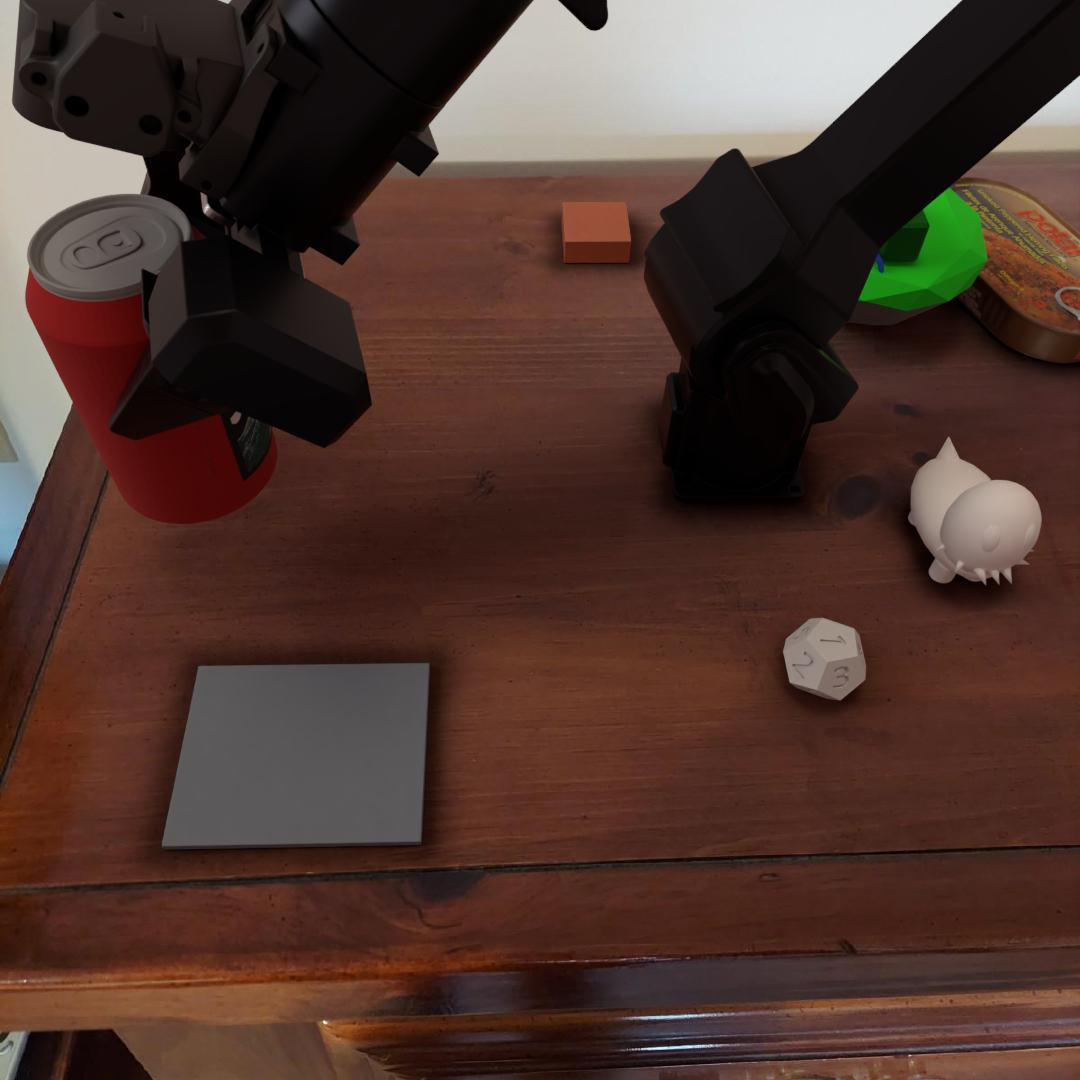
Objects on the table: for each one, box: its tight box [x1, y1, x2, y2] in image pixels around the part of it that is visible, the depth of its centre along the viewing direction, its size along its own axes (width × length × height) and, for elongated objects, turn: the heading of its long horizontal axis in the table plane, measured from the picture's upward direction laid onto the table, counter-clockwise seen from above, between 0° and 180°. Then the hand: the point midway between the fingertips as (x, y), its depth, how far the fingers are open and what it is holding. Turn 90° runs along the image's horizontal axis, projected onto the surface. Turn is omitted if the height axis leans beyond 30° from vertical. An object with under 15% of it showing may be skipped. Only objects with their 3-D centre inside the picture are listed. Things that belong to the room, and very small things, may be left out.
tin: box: [950, 176, 1080, 364], centre depth 60 cm, size 15×3×8 cm
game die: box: [782, 617, 867, 701], centre depth 43 cm, size 4×4×3 cm
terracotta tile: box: [561, 201, 632, 264], centre depth 62 cm, size 4×4×2 cm
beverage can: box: [24, 193, 279, 525], centre depth 39 cm, size 7×7×12 cm
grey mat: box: [161, 662, 431, 851], centre depth 42 cm, size 10×8×1 cm
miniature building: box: [847, 187, 987, 326], centre depth 55 cm, size 12×12×11 cm
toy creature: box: [907, 436, 1043, 586], centre depth 46 cm, size 5×8×6 cm, turn 4°
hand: (120, 366), depth 38 cm, fingers closed on beverage can, 7 cm apart
